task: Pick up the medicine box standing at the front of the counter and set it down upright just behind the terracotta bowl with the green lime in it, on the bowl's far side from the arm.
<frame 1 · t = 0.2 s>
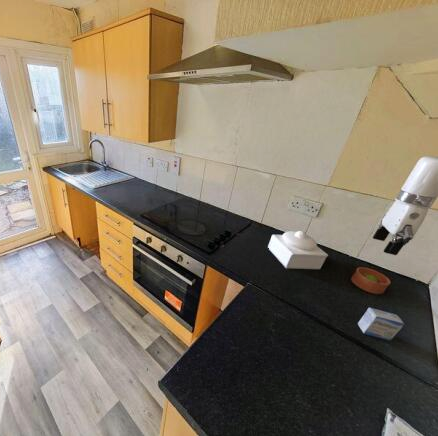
hand: (383, 246, 76), 29 cm above the table, tool pointing down, fingers open, 9 cm apart
medicine box: (372, 332, 80), on the table
butter dish: (292, 258, 117), on the table
bowl: (366, 285, 102), on the table
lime: (369, 280, 100), point 3 cm above the table, touching bowl
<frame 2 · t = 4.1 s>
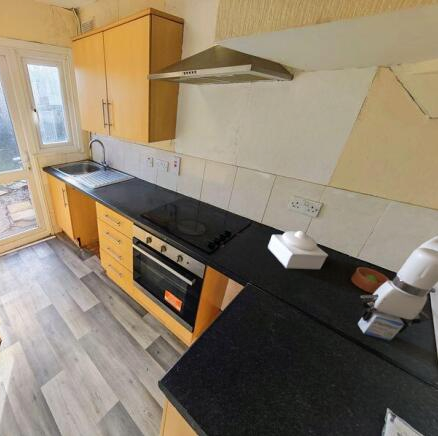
hand: (380, 323, 77), 5 cm above the table, tool pointing down, fingers closed on medicine box, 8 cm apart
medicine box: (372, 332, 80), on the table, touching gripper
everything else where it was.
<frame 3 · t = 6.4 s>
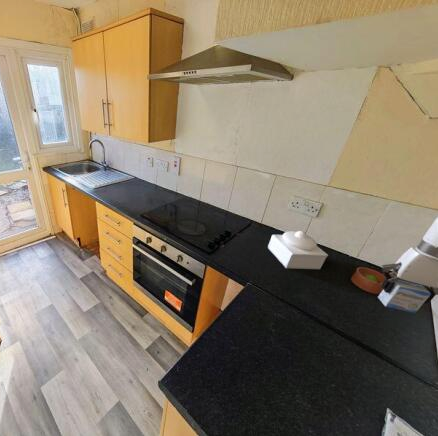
hand: (403, 294, 72), 18 cm above the table, tool pointing down, fingers closed on medicine box, 8 cm apart
medicine box: (395, 305, 74), point 13 cm above the table, touching gripper
everything else where it was.
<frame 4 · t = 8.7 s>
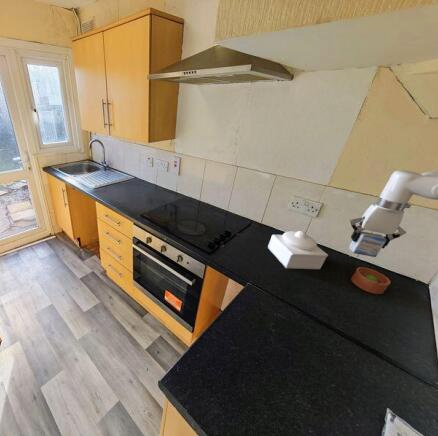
hand: (367, 243, 92), 22 cm above the table, tool pointing down, fingers closed on medicine box, 8 cm apart
medicine box: (361, 252, 94), point 17 cm above the table, touching gripper
everything else where it was.
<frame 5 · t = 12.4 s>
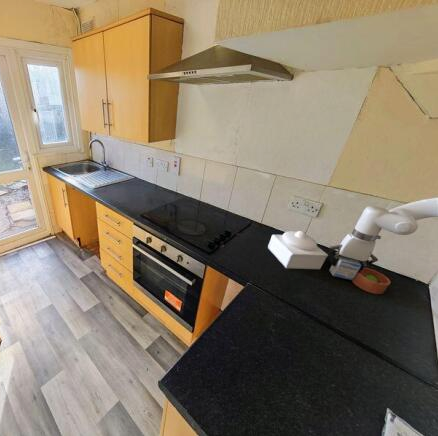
hand: (344, 267, 103), 6 cm above the table, tool pointing down, fingers closed on medicine box, 8 cm apart
medicine box: (340, 275, 105), point 1 cm above the table, touching gripper
everything else where it was.
when the fingers open (6 cm above the table, at t = 13.2 s): medicine box stays where it is, on the table.
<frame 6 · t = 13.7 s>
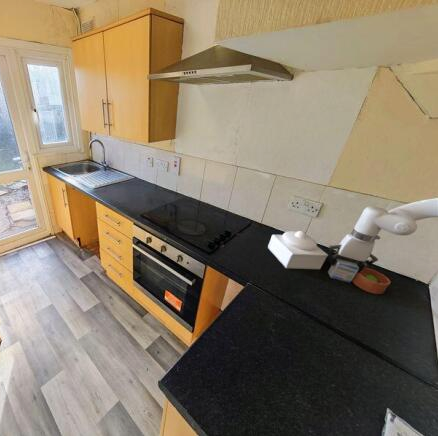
hand: (344, 267, 103), 6 cm above the table, tool pointing down, fingers open, 9 cm apart
medicine box: (338, 277, 105), on the table
everything else where it was.
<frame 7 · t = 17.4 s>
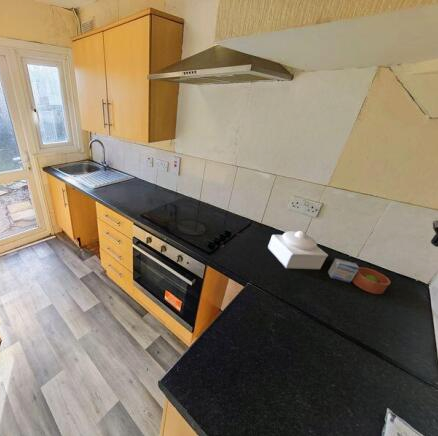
nothing on the table moved.
at the end: medicine box inside the target area on the table beside the bowl (0.6 cm from its centre), on the table; medicine box tilted 0°; the gripper is holding nothing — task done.
